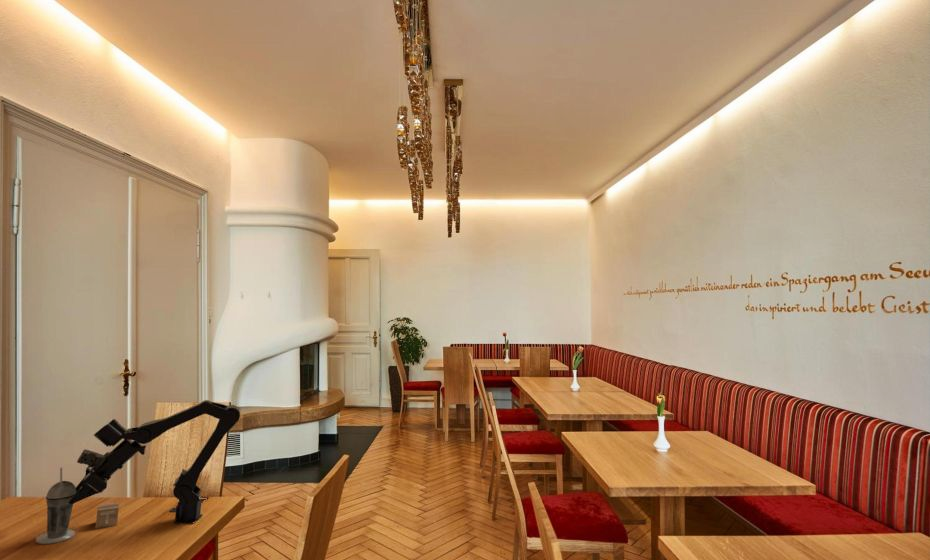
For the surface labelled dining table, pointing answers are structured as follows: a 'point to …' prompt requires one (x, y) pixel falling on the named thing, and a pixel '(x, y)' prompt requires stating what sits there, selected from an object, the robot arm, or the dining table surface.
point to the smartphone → (177, 505)
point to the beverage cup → (59, 508)
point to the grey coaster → (44, 540)
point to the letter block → (107, 515)
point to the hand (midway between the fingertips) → (71, 498)
